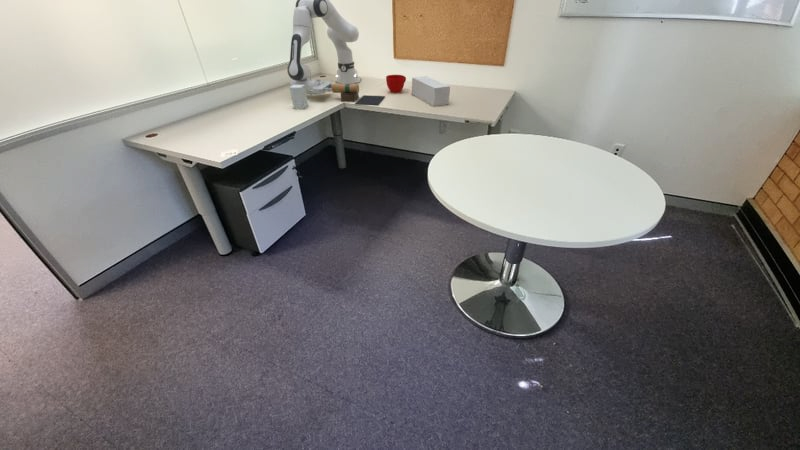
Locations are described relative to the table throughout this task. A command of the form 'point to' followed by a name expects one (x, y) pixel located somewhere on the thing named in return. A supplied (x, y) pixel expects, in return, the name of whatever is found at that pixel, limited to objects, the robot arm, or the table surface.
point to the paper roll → (345, 88)
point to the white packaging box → (298, 96)
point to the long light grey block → (430, 90)
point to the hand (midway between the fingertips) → (334, 88)
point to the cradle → (349, 97)
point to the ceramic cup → (395, 82)
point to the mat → (370, 100)
